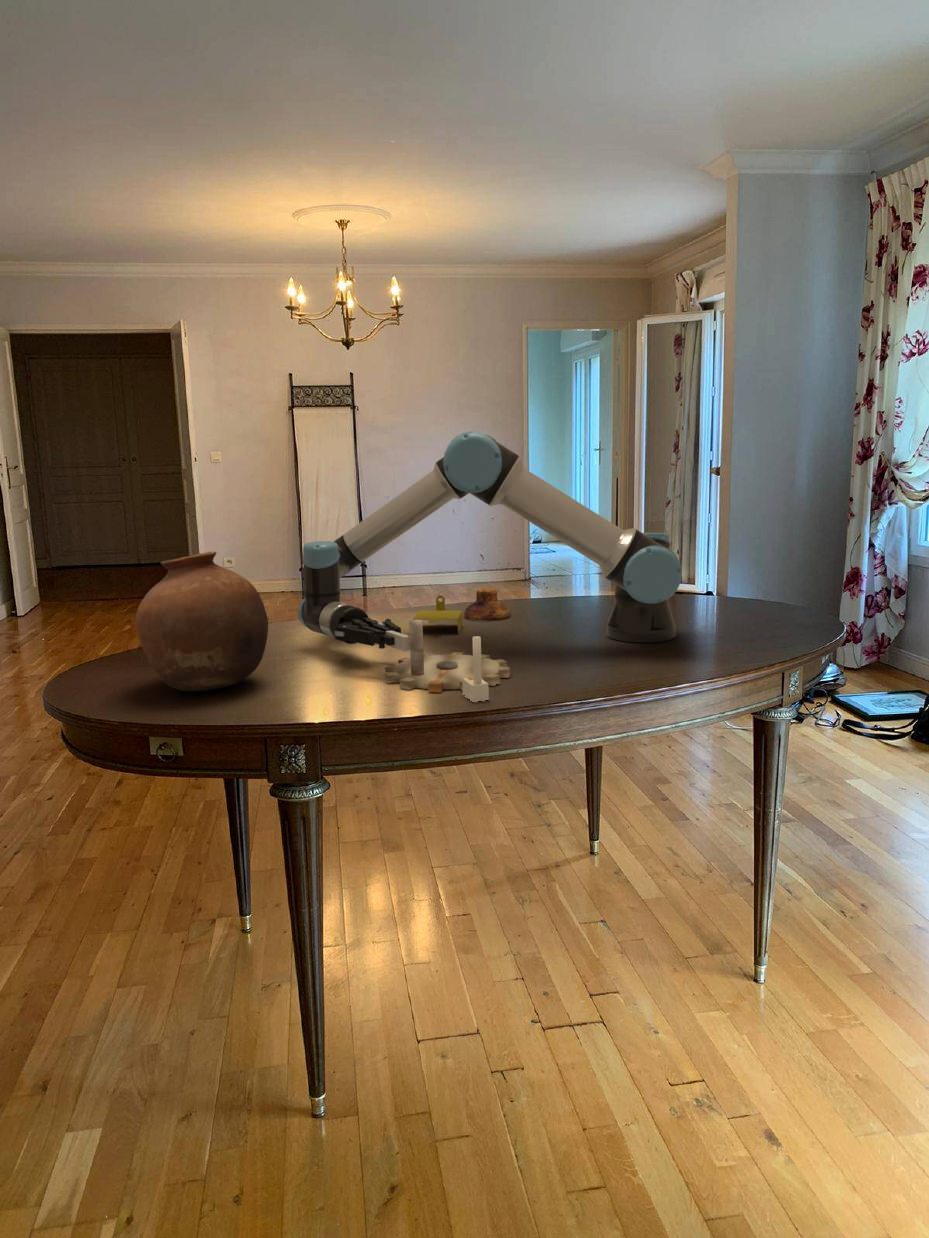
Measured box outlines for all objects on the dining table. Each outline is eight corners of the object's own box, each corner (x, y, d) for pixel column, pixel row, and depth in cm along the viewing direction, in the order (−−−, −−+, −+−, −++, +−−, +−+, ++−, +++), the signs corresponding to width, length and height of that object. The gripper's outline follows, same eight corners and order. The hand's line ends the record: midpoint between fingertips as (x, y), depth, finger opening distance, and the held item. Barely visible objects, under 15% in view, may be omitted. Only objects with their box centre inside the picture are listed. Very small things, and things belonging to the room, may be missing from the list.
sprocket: (500, 657, 179) (499, 601, 176) (517, 688, 156) (516, 625, 154) (385, 662, 177) (383, 606, 174) (385, 694, 154) (383, 631, 152)
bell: (454, 617, 222) (453, 589, 221) (491, 611, 229) (490, 583, 228) (483, 624, 213) (483, 594, 212) (520, 617, 220) (520, 588, 219)
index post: (462, 694, 153) (461, 633, 151) (478, 693, 154) (477, 632, 152) (472, 702, 149) (470, 639, 146) (488, 700, 150) (487, 637, 147)
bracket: (398, 607, 197) (408, 595, 212) (399, 640, 199) (409, 627, 213) (466, 607, 196) (472, 595, 210) (467, 640, 197) (473, 627, 212)
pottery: (277, 696, 155) (267, 556, 150) (138, 710, 149) (124, 564, 144) (267, 666, 177) (259, 542, 172) (146, 677, 170) (133, 549, 165)
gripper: (372, 636, 184) (436, 658, 165) (317, 645, 176) (377, 669, 158) (371, 601, 182) (435, 619, 163) (316, 608, 175) (376, 628, 156)
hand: (407, 643), depth 161 cm, fingers closed
